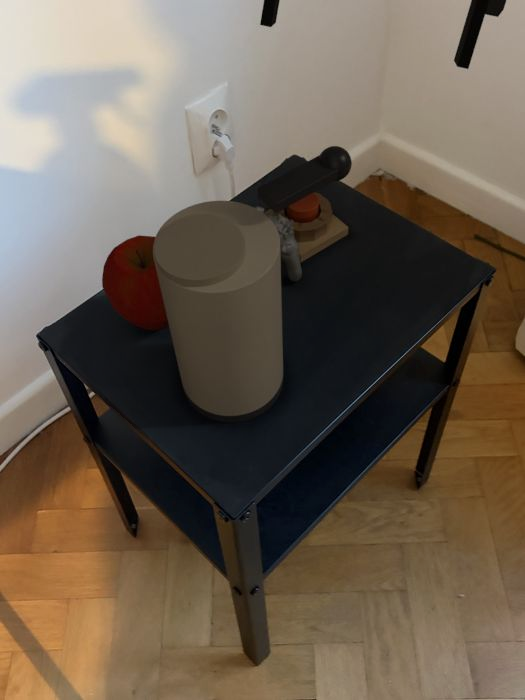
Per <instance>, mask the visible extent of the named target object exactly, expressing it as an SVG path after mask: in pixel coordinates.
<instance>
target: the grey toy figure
mask: <svg viewBox="0 0 525 700" xmlns="http://www.w3.org/2000/svg"><path fill="white" fill-rule="evenodd" d="M253 208H256V209H257V210H259V211H261V212H262V213H264V212H265V208H264V207H262V206H259V205H258V206H254V207H253ZM268 218H269V219H270V220H271V221H272V222H273V224H274V225H275V227H276V229H277V231H278V234H279V237H280V256H281V262H283V264H284V265H285V266H286V269H287V270H286V271H287V277H288V278H289V279H290V280H291V281H292V282H298V281H300V279H301V278H302V274H303V270H302V265H301V263H300V256H299V245H298V243H297V241H296V240H295V237H294V231H293V227H292V223H293V220H288V219H285V218H284V217H283V216H281V215H280V214H279V215H278V216H273V217H272V216H271V215H269V217H268Z"/></svg>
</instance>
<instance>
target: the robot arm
mask: <svg viewBox="0 0 525 700" xmlns="http://www.w3.org/2000/svg"><path fill="white" fill-rule="evenodd" d="M280 2H281V0H263V5H262V11H261V17H260V23H259V26H263V27H268V28H272V27H273V26H274V25H275V24H276V23H277V19H278V18H277V17H278V13H279V6H280ZM506 3H507V0H470V5H469V6H468V7H469V8H468V11H467V15H466V18H465V21H464V23H463V24H464V25H463V28H462V30H461V35H460V38H459V42H458V44H457V48H456V51H455V55H454V59H453V62H454V63H455V65H456V67H457V68H461V69H465V70H466V69H467V70H469V68H470V64H471V62H472V58H473V55H474V52H475V48H476V45H477V42H478V40H479V35H480V32H481V29H482V26H483V24H484V23H483V22H484V19H485V16H486V15H487V16H491V17H496V18H499V16H500V15H501V14H502V13H503V11H504V9H505V6H506Z"/></svg>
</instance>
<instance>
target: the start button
mask: <svg viewBox="0 0 525 700" xmlns="http://www.w3.org/2000/svg"><path fill="white" fill-rule="evenodd" d="M318 213H319V199H318V197H317V195H316V194H314V193H312V194H310V195H308V196H306V197H304V198H303V199H301V200H299V201H297V202H295V203H294V204H292V205H290V206H288V207H287V216H288V217H289V219H291V220H293V221H294V222H297V223H308V222H311V221H313V220H314V219H316V217H317V216H318Z"/></svg>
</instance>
